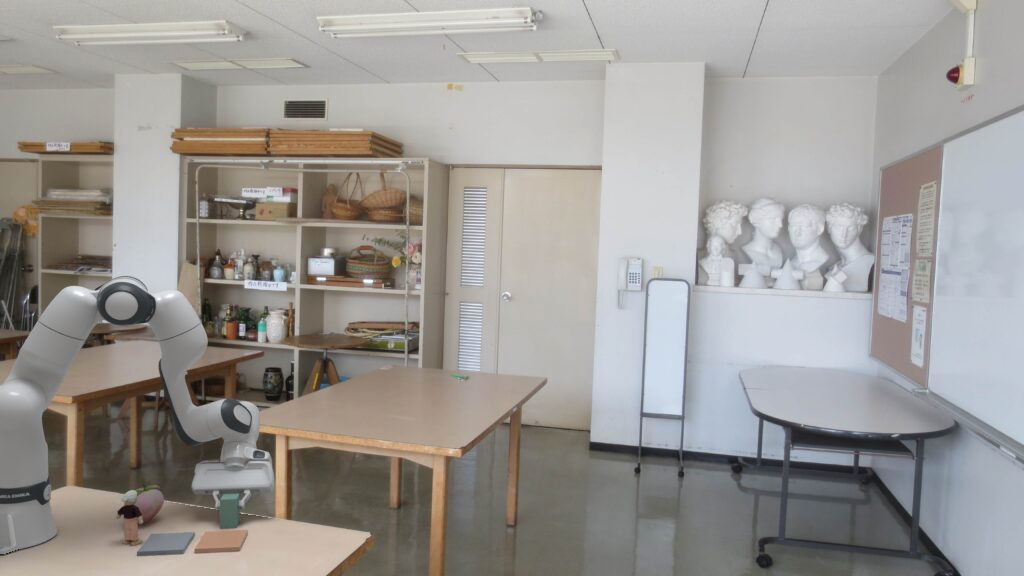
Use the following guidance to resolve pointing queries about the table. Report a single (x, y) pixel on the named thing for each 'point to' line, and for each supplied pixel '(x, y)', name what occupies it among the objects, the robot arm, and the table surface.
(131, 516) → the grandmother figurine
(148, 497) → the decorative fruit
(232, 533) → the terracotta tile
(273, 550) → the table surface
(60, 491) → the table surface
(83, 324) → the robot arm
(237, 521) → the green wooden block
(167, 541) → the slate tile
